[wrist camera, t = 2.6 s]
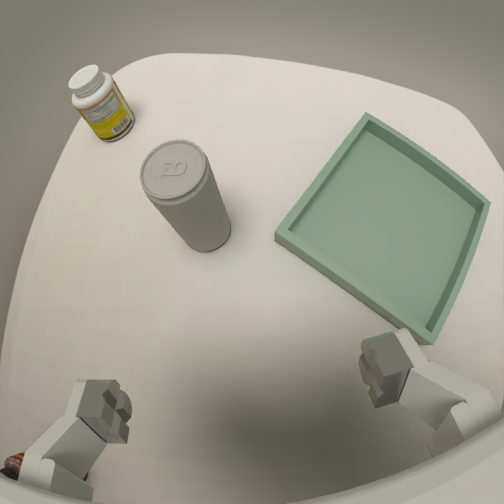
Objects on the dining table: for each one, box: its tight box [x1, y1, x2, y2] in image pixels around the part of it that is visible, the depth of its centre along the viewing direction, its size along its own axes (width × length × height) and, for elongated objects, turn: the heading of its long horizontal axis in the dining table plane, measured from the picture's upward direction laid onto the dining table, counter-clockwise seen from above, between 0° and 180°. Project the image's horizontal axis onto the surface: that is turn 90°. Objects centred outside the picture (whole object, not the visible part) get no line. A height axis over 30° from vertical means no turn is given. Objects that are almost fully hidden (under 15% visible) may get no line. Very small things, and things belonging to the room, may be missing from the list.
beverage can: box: [140, 140, 231, 252], centre depth 25 cm, size 5×5×12 cm
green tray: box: [275, 112, 491, 345], centre depth 28 cm, size 18×18×3 cm
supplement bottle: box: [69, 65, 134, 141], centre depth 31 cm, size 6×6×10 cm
